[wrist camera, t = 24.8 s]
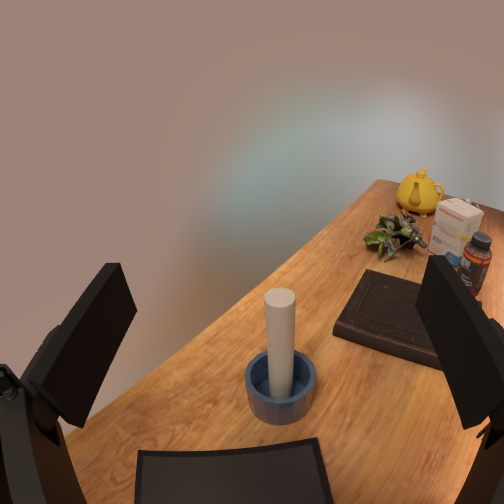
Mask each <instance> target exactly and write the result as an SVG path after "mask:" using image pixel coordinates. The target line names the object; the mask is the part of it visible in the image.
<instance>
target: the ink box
mask: <svg viewBox="0 0 504 504" xmlns="http://www.w3.org/2000/svg"><path fill="white" fill-rule="evenodd" d="M482 215H483V211H482V210H480V209H478V208H476V207H474V206H472V205H470V204H468V203H466V202H464V201H462V200H460V199H458V198H452V199H448V200H444V201H441V202H437V207H436V213H435V219H434V224H433V230H432V235H431V240H430V244H429V249H428V250H429V251H431V252H432V253H434V254H435V255H444V256H445V257H446V259H447V260H448V261H449V263H450V264H451V265H453V266H454V267H457V266H458V265H460V262H461V258H462V255H463V252H464V248H465V245H466V244H467V243H468V242H470V241H472V236H473V233H474V232H479V228H480V224H481V220H482Z"/></svg>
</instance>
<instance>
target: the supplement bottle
mask: <svg viewBox="0 0 504 504" xmlns="http://www.w3.org/2000/svg"><path fill="white" fill-rule="evenodd" d="M491 241H492V240H491V238H490V237H489V236H488V235H487V234H485V233H482V232H474V233H473V236H472V241H470V242H468V243H467V244H466V245H465V248H464V252H463V255H462V258H461V262H460V265H459V269H458V272H457V273H458V275H459V276H460V277H461V279H462V280H463V282H464V283H465V284H466V286H467V287H468V289H469V290H470V292H471V293H472V294H473V296H476V295H478V293H479V291H480V289H481V287H482V284H483V281H484V278H485V276H486V273H487V270H488V267H489V264H490V261H491V258H492V252H491V250H490V248H489V247H490V245H491Z"/></svg>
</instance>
